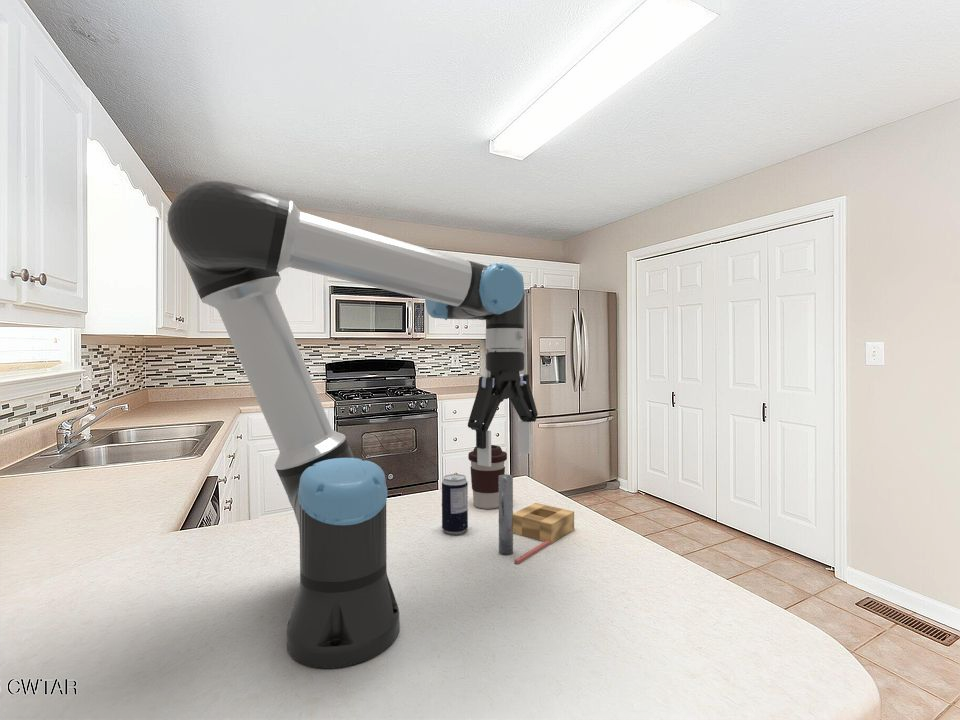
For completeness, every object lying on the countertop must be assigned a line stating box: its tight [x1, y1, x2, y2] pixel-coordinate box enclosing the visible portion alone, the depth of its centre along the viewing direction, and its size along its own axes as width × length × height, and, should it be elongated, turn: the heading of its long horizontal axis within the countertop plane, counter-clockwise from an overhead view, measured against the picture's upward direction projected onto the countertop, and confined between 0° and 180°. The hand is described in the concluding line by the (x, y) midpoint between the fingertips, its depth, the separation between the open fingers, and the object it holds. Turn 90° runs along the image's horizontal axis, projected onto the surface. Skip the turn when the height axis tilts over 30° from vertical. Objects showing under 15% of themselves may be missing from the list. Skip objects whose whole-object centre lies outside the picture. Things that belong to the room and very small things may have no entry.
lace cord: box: [514, 540, 552, 565], centre depth 93 cm, size 12×1×1 cm, turn 141°
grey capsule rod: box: [498, 474, 514, 556], centre depth 93 cm, size 3×3×15 cm
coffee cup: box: [467, 444, 508, 510], centre depth 122 cm, size 10×10×15 cm
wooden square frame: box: [513, 502, 575, 545], centre depth 104 cm, size 10×10×4 cm
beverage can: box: [441, 473, 469, 536], centre depth 104 cm, size 6×6×12 cm
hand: (505, 459), depth 93 cm, fingers open, 13 cm apart
